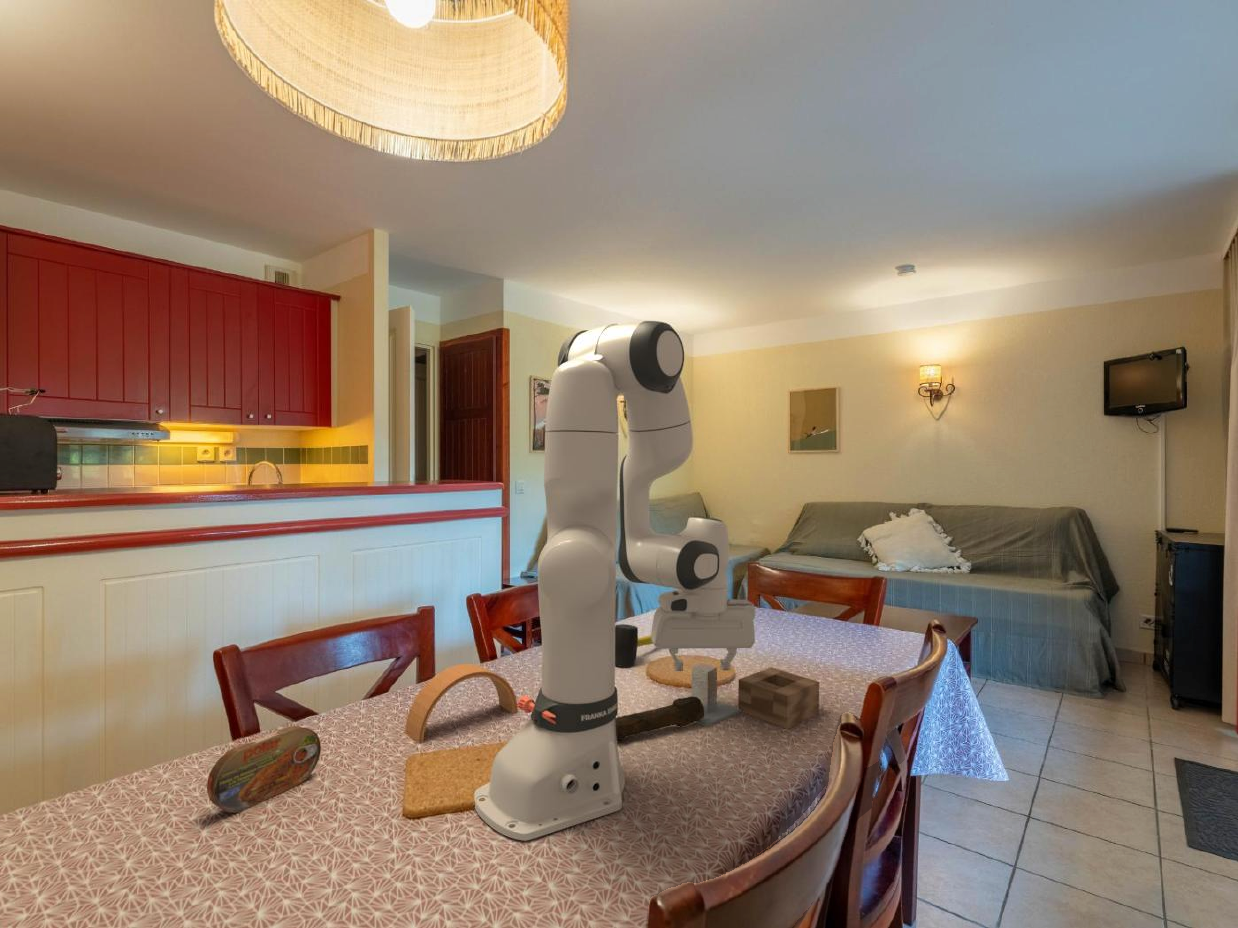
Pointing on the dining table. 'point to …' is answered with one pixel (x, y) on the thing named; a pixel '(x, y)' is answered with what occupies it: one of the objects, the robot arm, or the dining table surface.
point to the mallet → (628, 644)
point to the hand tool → (660, 717)
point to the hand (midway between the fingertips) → (701, 669)
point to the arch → (444, 683)
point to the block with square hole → (778, 697)
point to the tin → (263, 768)
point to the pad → (718, 714)
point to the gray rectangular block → (705, 686)
